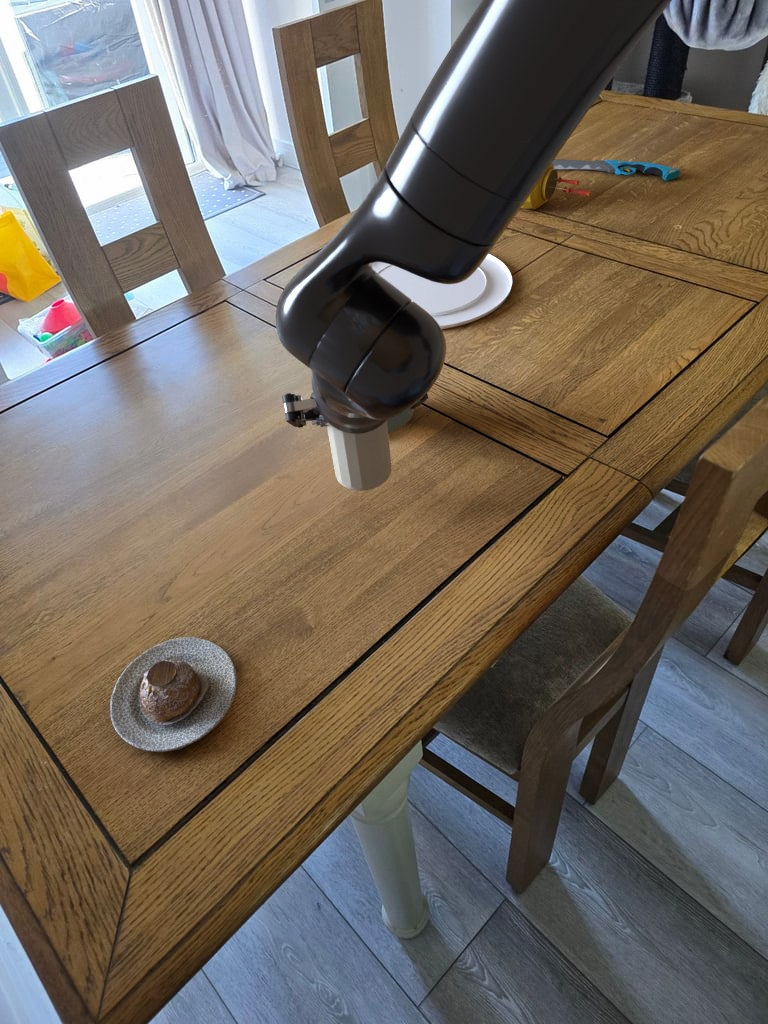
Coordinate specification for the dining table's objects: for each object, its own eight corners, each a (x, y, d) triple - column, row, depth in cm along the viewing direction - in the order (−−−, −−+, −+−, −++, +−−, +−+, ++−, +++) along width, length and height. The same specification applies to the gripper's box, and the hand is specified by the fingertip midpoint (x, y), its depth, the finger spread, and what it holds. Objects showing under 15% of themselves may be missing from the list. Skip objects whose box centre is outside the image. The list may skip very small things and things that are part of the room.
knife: (499, 168, 153) (499, 161, 151) (507, 158, 155) (507, 151, 154) (675, 182, 138) (677, 174, 137) (681, 171, 140) (682, 163, 139)
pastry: (91, 699, 67) (72, 674, 64) (194, 623, 73) (181, 596, 69) (156, 783, 61) (138, 760, 58) (264, 692, 66) (253, 667, 63)
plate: (401, 237, 131) (400, 233, 130) (539, 265, 119) (540, 261, 118) (312, 307, 115) (311, 303, 115) (461, 348, 103) (461, 344, 103)
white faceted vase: (395, 454, 81) (384, 334, 70) (385, 492, 77) (372, 371, 65) (342, 451, 82) (323, 332, 71) (329, 488, 78) (307, 369, 67)
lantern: (604, 149, 124) (460, 129, 138) (580, 182, 121) (435, 158, 134) (602, 200, 133) (466, 176, 146) (579, 231, 129) (442, 204, 143)
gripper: (432, 327, 59) (413, 367, 76) (265, 353, 58) (282, 388, 75) (447, 414, 59) (424, 435, 76) (280, 441, 59) (294, 456, 75)
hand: (354, 411), depth 75 cm, fingers closed on white faceted vase, 6 cm apart
